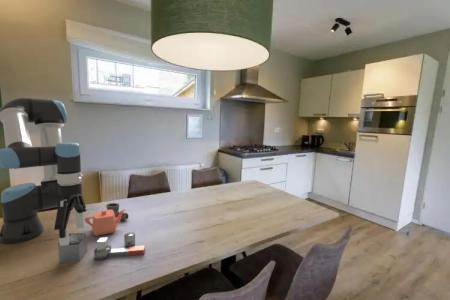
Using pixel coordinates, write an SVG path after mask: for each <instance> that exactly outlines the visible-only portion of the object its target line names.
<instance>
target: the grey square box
mask: <svg viewBox="0 0 450 300" xmlns="http://www.w3.org/2000/svg"><path fill="white" fill-rule="evenodd" d="M68 237H69V245H63V246H60V245H59V242H58V243H57V244H58V246H57V247H58V261H59V262H58V263H59V264H60V263H61V264H62V263H63V264H64V263H75V262H76V263H78V262H80V261H81V260H82V259H83V257H84V256H85V254H86V253H87V252H88V248H87V246H88V244H87V243H88V242H87V233H86V232H80V233H79V232H78V233H68Z"/></svg>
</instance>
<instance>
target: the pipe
mask: <svg viewBox="0 0 450 300" xmlns="http://www.w3.org/2000/svg"><path fill="white" fill-rule="evenodd" d="M105 207H106V210H113V211H114V214H115V217H116V218H117V217H118V216H119V213H120V204H119V203H117V202H110V203H107V204H105ZM128 219H129V214H128V213H127V212H123V213H122V216H121V220H122V221H123V220H124V221H127V220H128ZM121 220H120V221H121Z"/></svg>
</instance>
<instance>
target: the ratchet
mask: <svg viewBox="0 0 450 300" xmlns="http://www.w3.org/2000/svg"><path fill="white" fill-rule="evenodd" d="M108 238H109V237H99V238H98V239H97V241H96V248H95V249H94V250H93V256H94V257H93V258H94V260H95V261H104V260H107V259H109V258H117V257H118V258H119V257H133V256H144V255H145V252H146V245H135V246H130V247H129V248H125V247H119V248H118V247H117V248H112V246H111V245H109V243H108V241H109V239H108Z"/></svg>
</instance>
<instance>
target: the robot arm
mask: <svg viewBox="0 0 450 300" xmlns="http://www.w3.org/2000/svg"><path fill="white" fill-rule="evenodd" d="M0 122H1V124H2V126H3V127H2V128H3V134H4V143H5V147H3V148H0V168H1V169H3V170H10V169H11V170H12V169H13V170H14V169H15V170H18V169H25V168H36V167H42V169H43V170H42V171H43V178H42V179H41V180H40V184H39V185H36V183H34V182H26V183H19V184H16V185H12V186H9V187H8V188H7V187H6V188H5V189H4V190H2V192H1V193H0V203H1V209H2V210H1V211H2V221H3V222H2V226H1V228H0V243H2V244H16V243H21V242H25V241H28V240H31V239H33V238H36V237H38V236H39V235H41V234H42V233H43V232H44V224H43V222H41V220H40V217H39V216H38V211H42V210H47V209H51V208H57V210H56V211H57V212H56V216H55V217H56V218H55V222H54V227H53V228H54V229H53V230H54V231H58V243H59V245H60V246H63V245H69V237H68V234H69V227H68V223H69V219H70V216H71V215H70V214H71V213H72V212H71V211H72V210H73V209H74V210H75V211H76V212H75V224H76V226H75V227H76V229H84V228H85V213H86V212H87V207H86V204H85V200H84V196H83V193H82V192H83V184H82V177H83V174H82V166H81V163H82V162H81V154H82V153H81V148H80V144H79V143H78V142H72V141H71V142H63V138H62V128H64V127H65V124H66V123H67V122H68V114H67V109H66V107H65V105H64V103H63V102H62V101H60V100H55V99H54V100H53V99H46V98H45V99H44V98H29V97H18V98H14V99H11V100H9V101H8V102H6V103H4V104H3V105H1V107H0ZM28 123H34V127H35V128H37V130H39V139H40V146H33V143H32V140H31V135H30V131H29V127H28V126H29V125H28Z"/></svg>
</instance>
